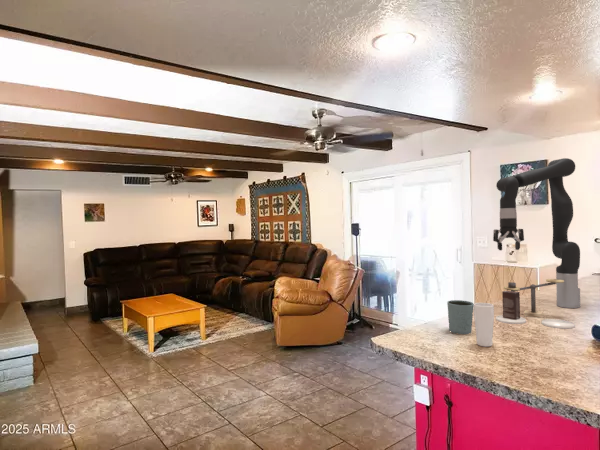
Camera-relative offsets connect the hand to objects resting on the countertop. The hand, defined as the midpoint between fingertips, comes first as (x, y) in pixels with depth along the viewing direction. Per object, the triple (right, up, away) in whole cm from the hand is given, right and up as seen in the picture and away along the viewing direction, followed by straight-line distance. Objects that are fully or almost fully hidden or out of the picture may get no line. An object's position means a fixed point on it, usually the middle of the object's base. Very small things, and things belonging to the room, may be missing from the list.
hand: (508, 250), depth 198 cm
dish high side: (+7, -30, -28) cm, 42 cm away
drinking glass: (-36, -32, -51) cm, 70 cm away
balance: (+6, -30, -11) cm, 33 cm away
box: (-9, -30, -19) cm, 36 cm away
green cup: (-37, -32, -33) cm, 59 cm away
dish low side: (-9, -31, -19) cm, 37 cm away
